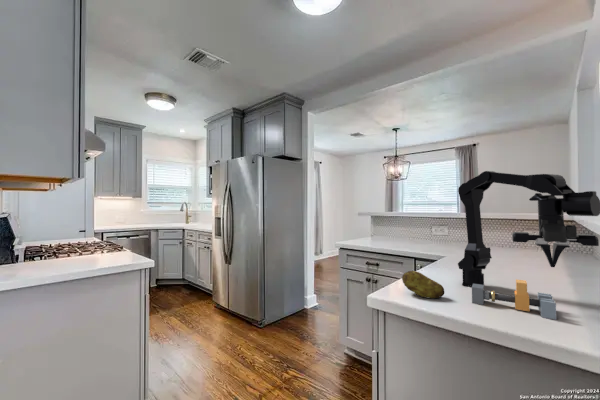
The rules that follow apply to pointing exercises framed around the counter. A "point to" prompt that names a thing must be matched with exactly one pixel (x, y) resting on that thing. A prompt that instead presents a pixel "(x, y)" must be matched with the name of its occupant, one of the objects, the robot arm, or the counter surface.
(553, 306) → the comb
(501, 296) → the black rod
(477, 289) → the connector
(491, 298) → the band
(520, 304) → the sleeve
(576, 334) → the counter surface
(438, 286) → the potato
